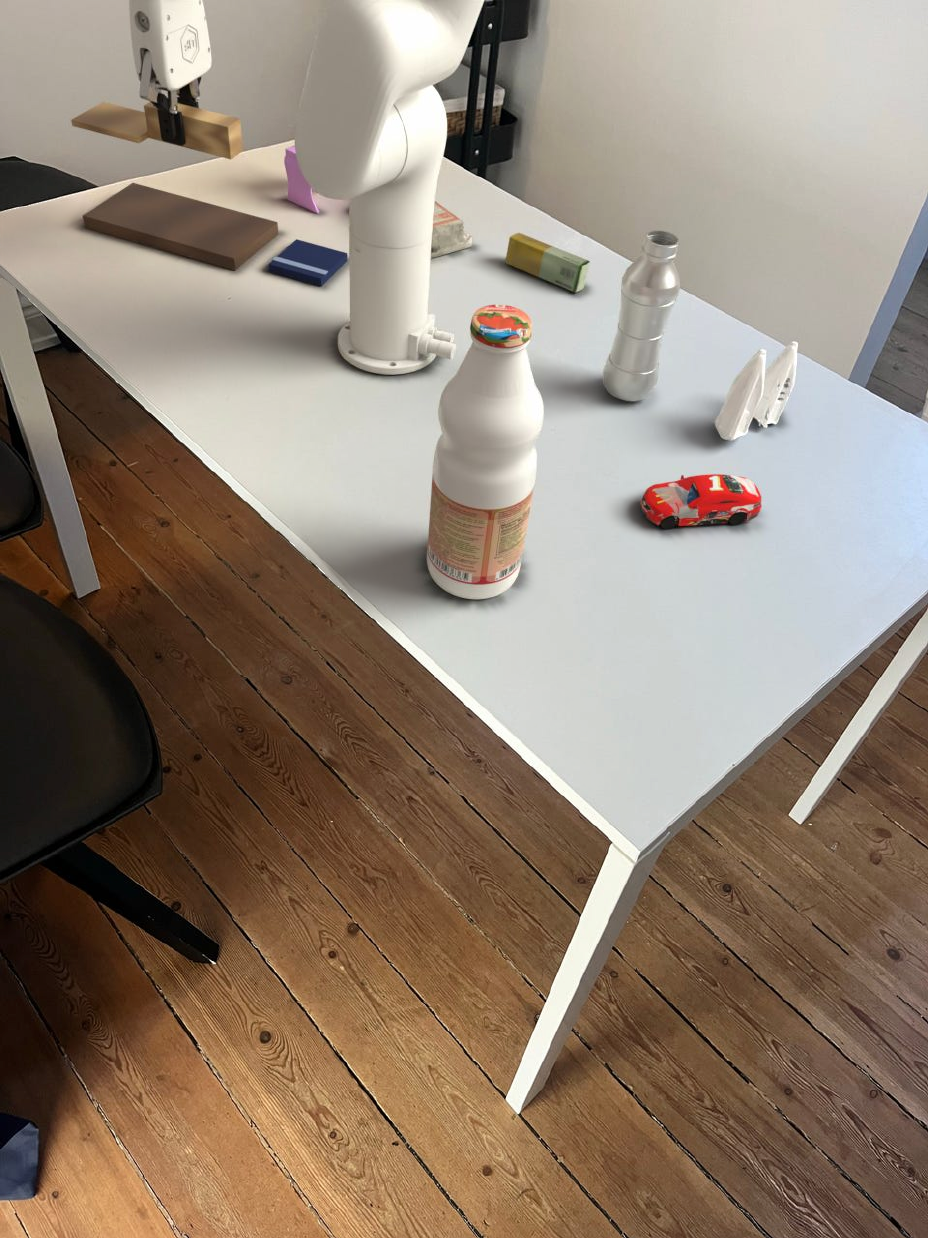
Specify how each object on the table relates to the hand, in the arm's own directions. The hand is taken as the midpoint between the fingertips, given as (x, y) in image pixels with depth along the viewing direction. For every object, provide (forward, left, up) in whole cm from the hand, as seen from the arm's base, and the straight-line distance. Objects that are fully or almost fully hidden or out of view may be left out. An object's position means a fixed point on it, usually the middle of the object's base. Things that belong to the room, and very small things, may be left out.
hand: (181, 135), depth 126 cm
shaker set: (-79, +5, -15) cm, 80 cm away
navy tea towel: (-16, -3, -15) cm, 22 cm away
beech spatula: (+3, 0, -1) cm, 3 cm away
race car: (-77, +23, -15) cm, 82 cm away
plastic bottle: (-64, +5, -15) cm, 66 cm away
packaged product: (-24, -20, -15) cm, 35 cm away
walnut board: (+4, -3, -15) cm, 16 cm away
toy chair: (-8, -22, -15) cm, 28 cm away
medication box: (-46, -17, -15) cm, 51 cm away
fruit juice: (-58, +42, -15) cm, 73 cm away
